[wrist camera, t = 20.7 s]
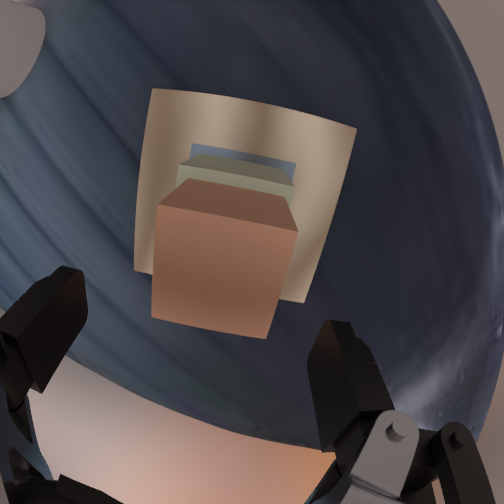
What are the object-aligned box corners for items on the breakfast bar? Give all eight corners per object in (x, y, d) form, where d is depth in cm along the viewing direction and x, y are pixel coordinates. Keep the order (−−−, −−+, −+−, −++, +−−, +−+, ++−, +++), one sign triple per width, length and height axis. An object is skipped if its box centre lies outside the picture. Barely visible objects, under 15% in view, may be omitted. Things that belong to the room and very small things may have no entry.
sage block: (188, 230, 22) (167, 267, 16) (200, 153, 19) (178, 164, 14) (265, 245, 22) (268, 287, 17) (283, 169, 20) (295, 187, 14)
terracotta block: (177, 263, 16) (151, 317, 12) (188, 177, 14) (157, 204, 9) (263, 280, 16) (265, 339, 12) (284, 196, 14) (298, 231, 10)
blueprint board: (137, 266, 24) (133, 270, 23) (156, 89, 18) (152, 88, 17) (302, 297, 25) (303, 303, 24) (353, 128, 19) (357, 128, 18)
